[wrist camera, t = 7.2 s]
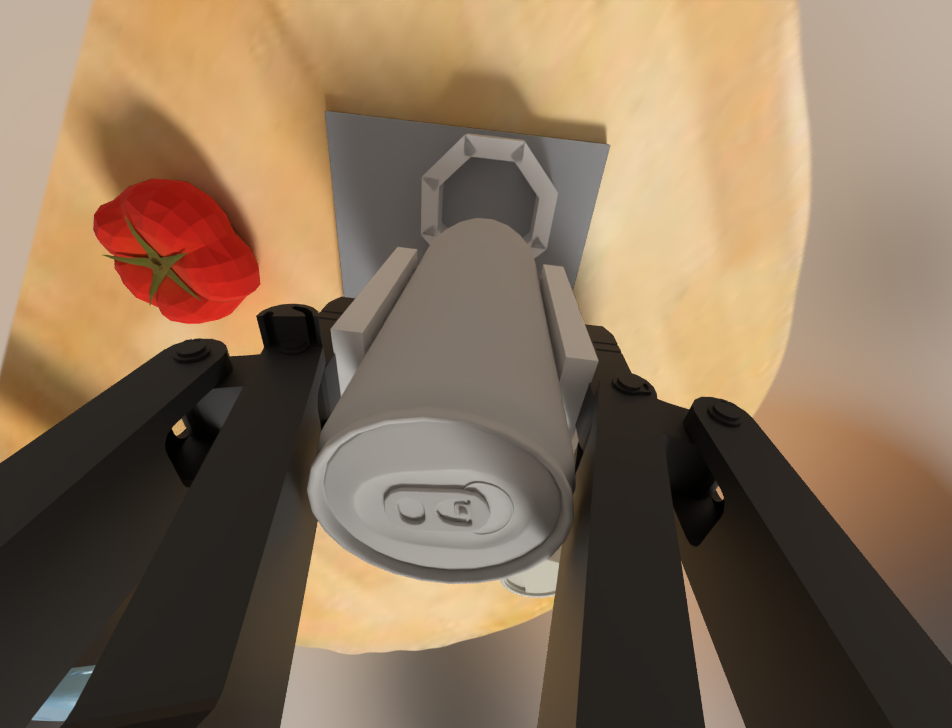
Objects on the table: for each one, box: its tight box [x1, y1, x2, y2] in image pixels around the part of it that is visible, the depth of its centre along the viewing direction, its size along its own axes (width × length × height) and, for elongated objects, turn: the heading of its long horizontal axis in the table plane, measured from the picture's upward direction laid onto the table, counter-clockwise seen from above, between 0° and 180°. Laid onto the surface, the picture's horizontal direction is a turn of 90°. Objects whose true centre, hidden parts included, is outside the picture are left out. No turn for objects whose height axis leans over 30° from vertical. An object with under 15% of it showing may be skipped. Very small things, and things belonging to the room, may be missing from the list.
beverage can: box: [307, 218, 576, 584], centre depth 11 cm, size 5×5×12 cm
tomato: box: [93, 179, 260, 324], centre depth 30 cm, size 10×11×7 cm
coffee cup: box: [500, 545, 562, 598], centre depth 42 cm, size 8×8×12 cm
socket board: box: [325, 111, 610, 298], centre depth 30 cm, size 20×16×4 cm
